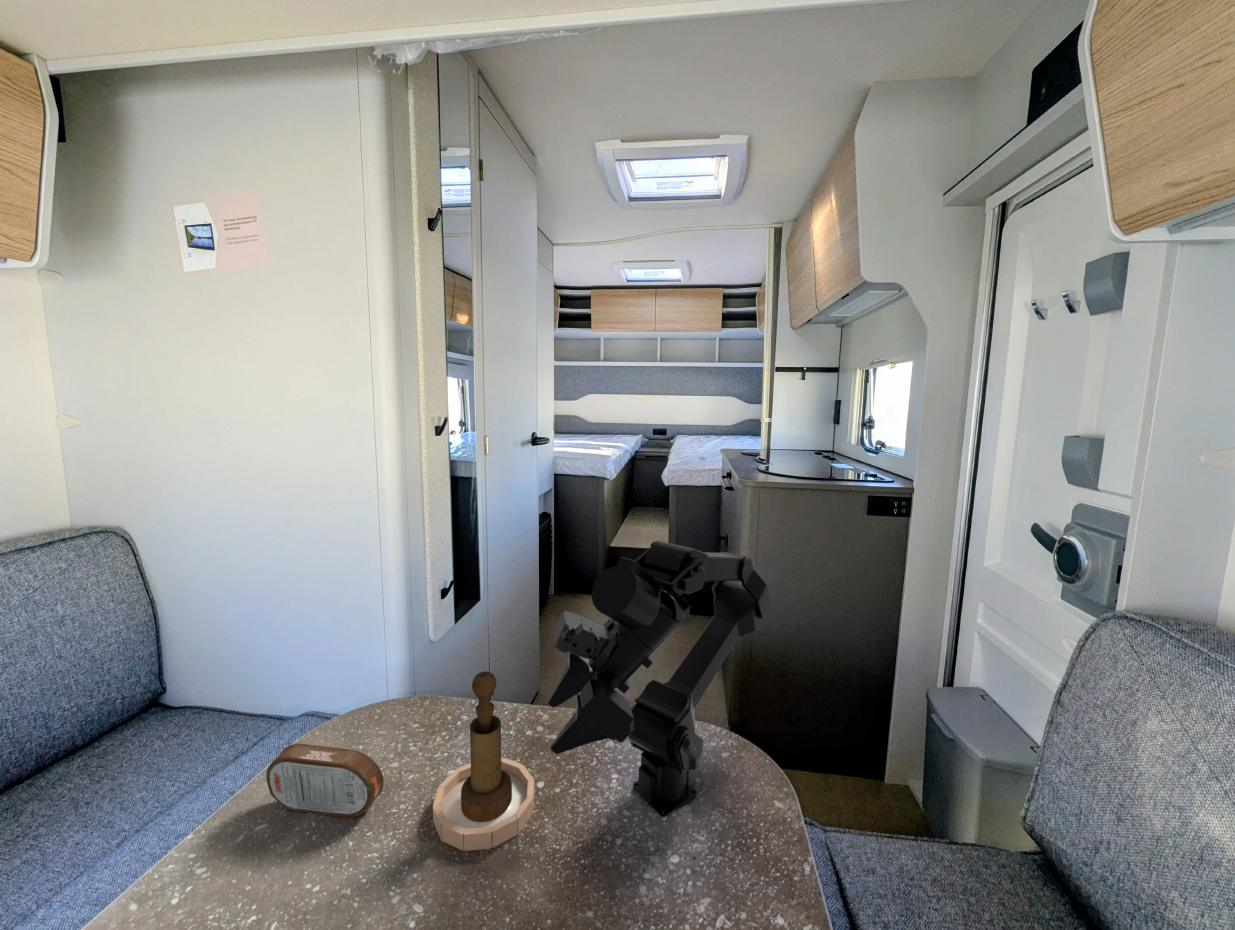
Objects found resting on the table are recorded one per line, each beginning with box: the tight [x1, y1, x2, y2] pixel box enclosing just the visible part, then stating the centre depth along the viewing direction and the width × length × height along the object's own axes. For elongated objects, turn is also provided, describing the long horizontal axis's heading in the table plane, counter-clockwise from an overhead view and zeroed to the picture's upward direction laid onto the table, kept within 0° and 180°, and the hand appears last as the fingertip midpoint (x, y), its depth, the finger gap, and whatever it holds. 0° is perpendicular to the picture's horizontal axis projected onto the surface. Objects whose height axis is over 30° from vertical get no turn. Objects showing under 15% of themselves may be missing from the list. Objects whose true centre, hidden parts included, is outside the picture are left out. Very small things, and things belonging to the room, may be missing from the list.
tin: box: [265, 742, 385, 818], centre depth 65 cm, size 15×3×8 cm, turn 83°
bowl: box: [432, 756, 535, 852], centre depth 66 cm, size 13×13×2 cm
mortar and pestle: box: [461, 670, 512, 822], centre depth 65 cm, size 7×6×18 cm
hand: (551, 726), depth 62 cm, fingers open, 9 cm apart
